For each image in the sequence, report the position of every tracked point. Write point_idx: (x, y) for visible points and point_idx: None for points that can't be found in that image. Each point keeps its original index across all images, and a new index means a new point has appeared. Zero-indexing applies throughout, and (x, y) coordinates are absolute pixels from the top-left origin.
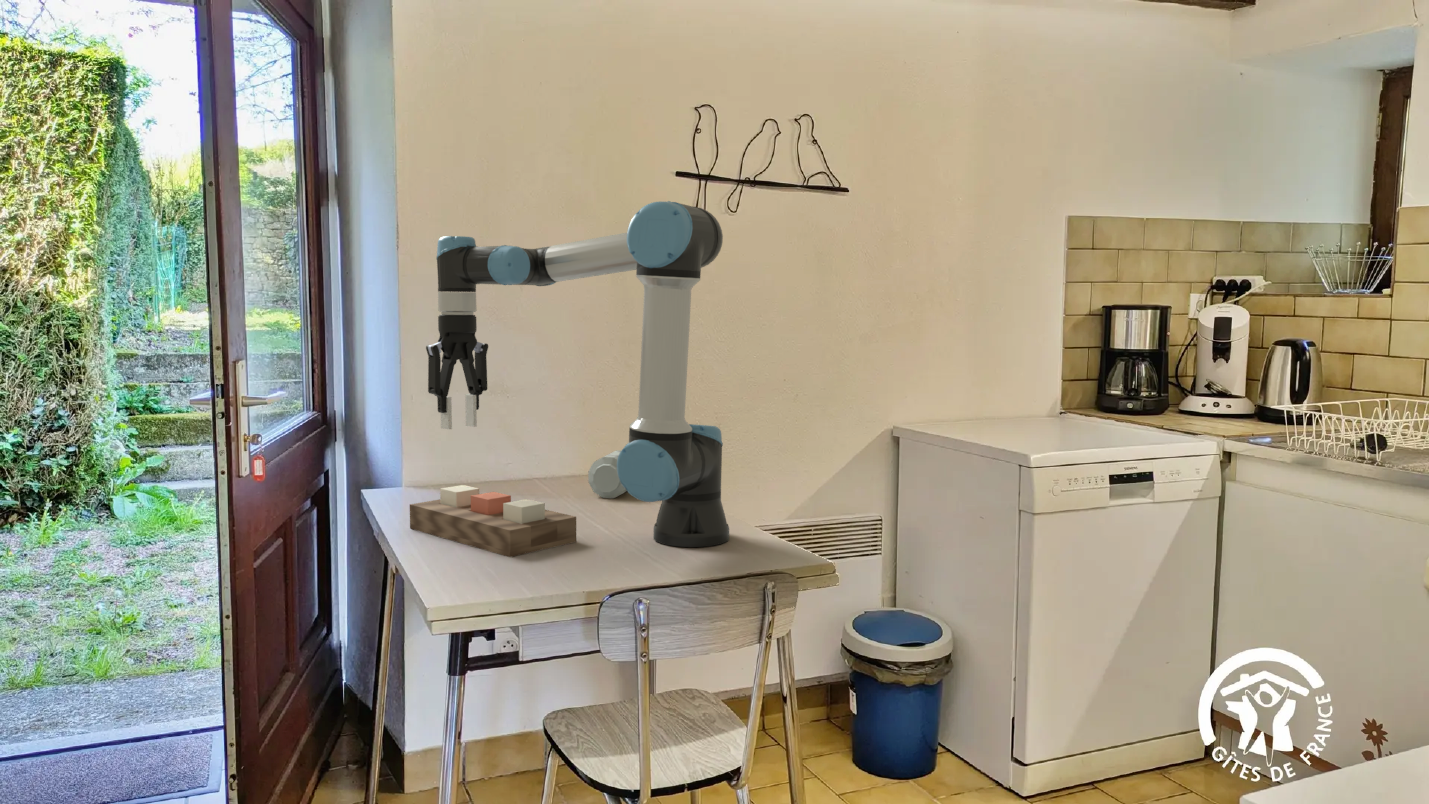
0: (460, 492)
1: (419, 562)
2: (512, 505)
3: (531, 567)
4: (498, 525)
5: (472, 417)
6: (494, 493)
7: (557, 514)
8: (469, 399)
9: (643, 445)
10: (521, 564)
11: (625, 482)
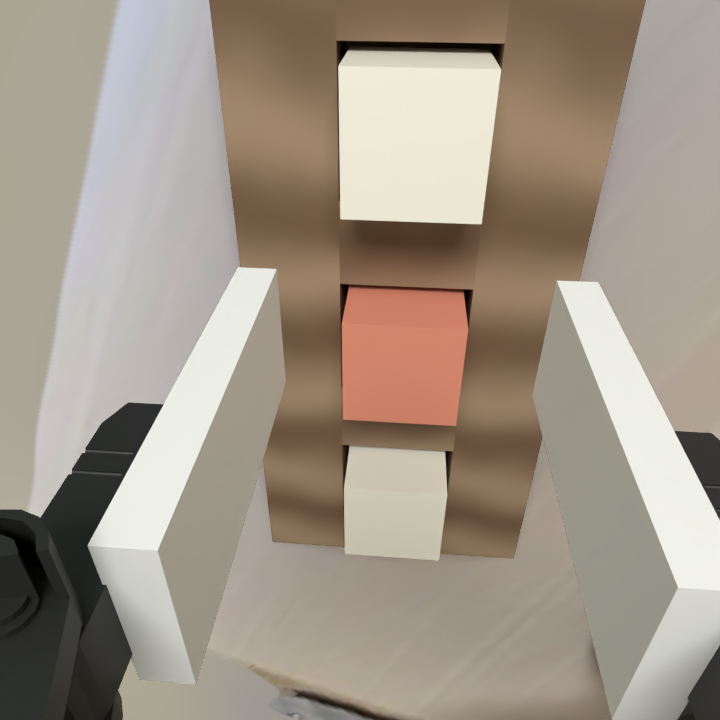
0: (365, 218)
1: (81, 380)
2: (344, 522)
3: (272, 555)
4: (282, 494)
5: (549, 446)
6: (442, 357)
7: (503, 514)
8: (618, 589)
9: None
10: (270, 532)
11: None
